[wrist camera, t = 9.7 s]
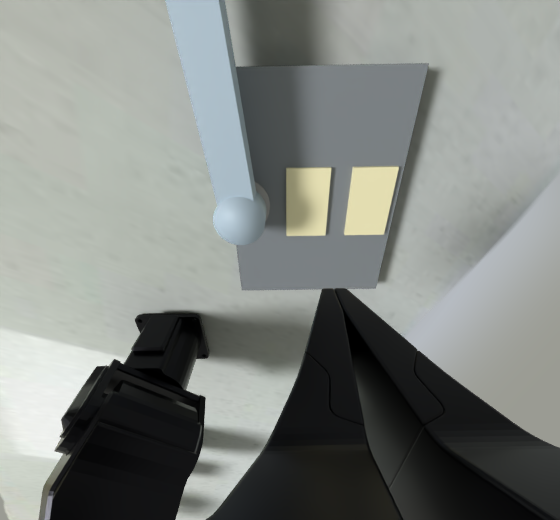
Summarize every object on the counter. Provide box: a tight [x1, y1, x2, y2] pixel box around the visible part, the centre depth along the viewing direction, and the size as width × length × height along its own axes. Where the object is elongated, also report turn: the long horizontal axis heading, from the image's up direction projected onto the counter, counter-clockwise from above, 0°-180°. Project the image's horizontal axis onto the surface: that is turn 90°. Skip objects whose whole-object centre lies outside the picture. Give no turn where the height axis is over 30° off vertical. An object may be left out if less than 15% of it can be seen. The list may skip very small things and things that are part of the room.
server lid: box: [236, 63, 429, 290], centre depth 19 cm, size 16×13×2 cm
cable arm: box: [165, 0, 266, 245], centre depth 13 cm, size 16×3×2 cm, turn 6°
